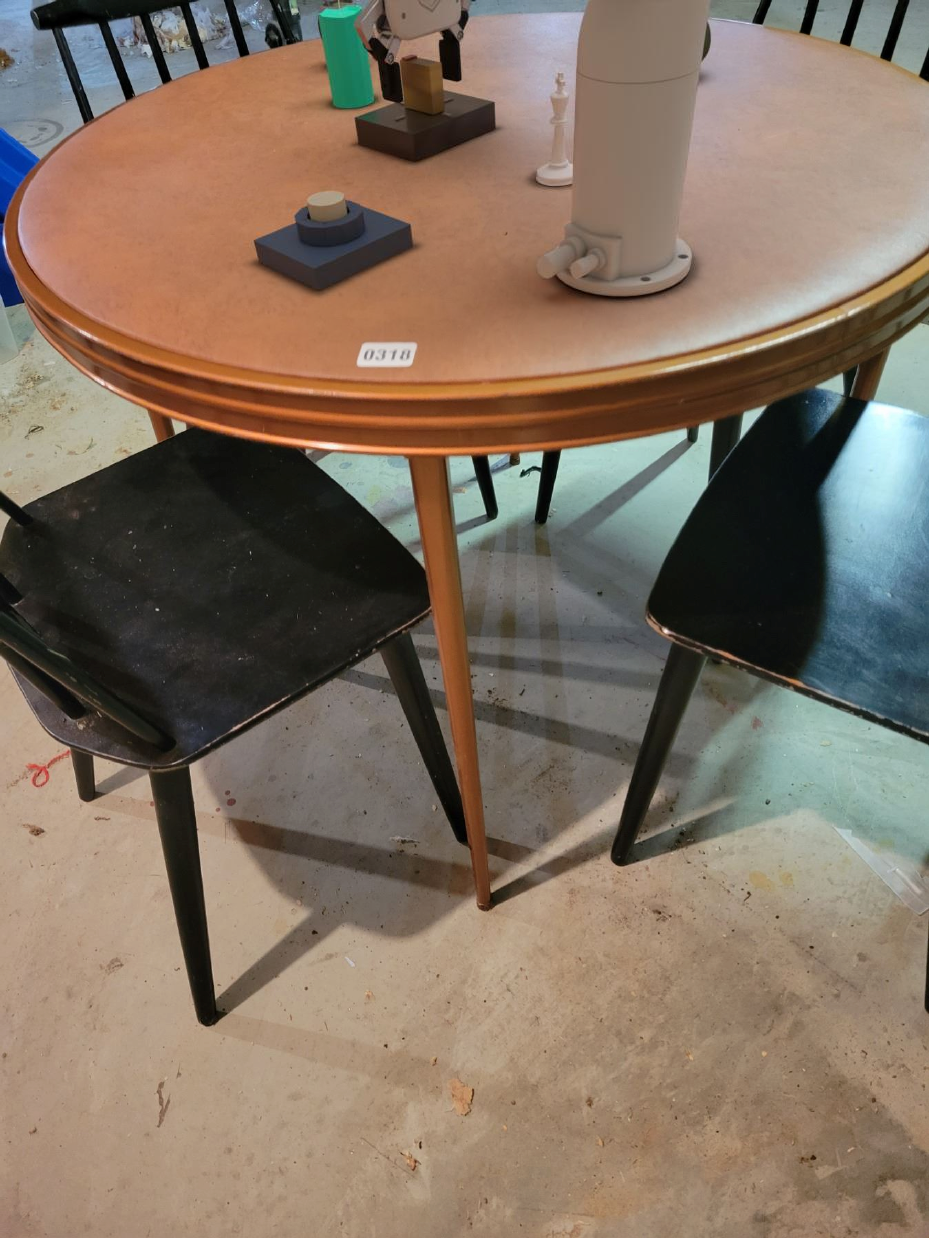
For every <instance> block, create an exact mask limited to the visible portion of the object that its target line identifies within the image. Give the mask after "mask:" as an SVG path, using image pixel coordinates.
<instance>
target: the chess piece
mask: <svg viewBox="0 0 929 1238" xmlns="http://www.w3.org/2000/svg"><path fill="white" fill-rule="evenodd" d="M554 80H555V81H554V83H555V84H556V87H557V90H556V91H553V92H552V93H551V94H550V96H549V97H550V98H549V99H550V102H551V105H552V110H553V113H554V116H552V117H550V119H549V122H548V123H549V125H551V126H554V131H553V141H552V146H551V147H552V148H551V155H550V159H549V160H548V161H547V163H546V164H543V165H542V166H540V167H539V168H538V169H537V171H536V176H535V180H536V182H538V183H539V184H541V185H544V186H547V187H562V186H564V187H565V186H569V185H572V174H573V163H571V162H570V161H569V159H568V158H567V153H566V143H565V142H566V141H565V130H564V126H565V125H568V124H569V123H570V119H569V117H568V116H566V115H565V112H566V110H567V106H568V102H569V100H570V93H569V92H568V91H565V90H564V88H565V87H566V81H565V80H564V72H563V71H558V72H557V77H555V79H554Z"/></svg>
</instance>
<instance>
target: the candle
mask: <svg viewBox="0 0 929 1238" xmlns="http://www.w3.org/2000/svg"><path fill="white" fill-rule="evenodd" d="M338 3H339V0H338ZM363 10H364V9H363V7H361V6H360V5H358V4H357V5H350V6H346V7H343V8H340V3H339V9H338V10H336V9H326V10H324V11H323V12H322V13H321V14H318V13H317V18H318V17H319V23H320V29H321V35H322V39H321V41H323V42H322V46H323V52H324V57H325V64H326V70H327V76H328V81H329V88H330V93H331V99H332V105H333V106H334V107H336V108H337V109H338V108H339V109H359V108H363V107H367V106H368V105H370V104H372V103H374V102H375V93H374V86H373V79H372V72H371V70H372V69H371V63H370V56H369V52H368V51H367V50H366V49H365V48H364V46H363V41H361V39H360V37H359V35H358V33H357V31H356V29H355V27H354V22H355V20H356V19H357V17H358V16H359V15H360V14H361V12H362V11H363Z"/></svg>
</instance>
